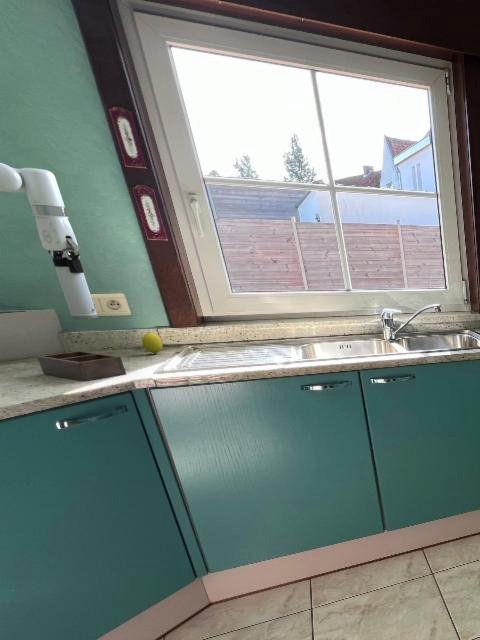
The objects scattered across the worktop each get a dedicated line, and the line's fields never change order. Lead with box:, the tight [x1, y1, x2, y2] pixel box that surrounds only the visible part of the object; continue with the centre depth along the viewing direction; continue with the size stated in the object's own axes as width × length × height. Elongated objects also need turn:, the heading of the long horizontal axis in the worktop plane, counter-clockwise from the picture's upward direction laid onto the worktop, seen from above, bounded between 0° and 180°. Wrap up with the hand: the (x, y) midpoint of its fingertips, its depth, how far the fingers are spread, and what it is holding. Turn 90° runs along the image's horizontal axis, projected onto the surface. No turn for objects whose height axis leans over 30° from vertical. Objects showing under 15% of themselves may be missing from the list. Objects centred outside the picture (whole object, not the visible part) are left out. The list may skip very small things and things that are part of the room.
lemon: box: [141, 332, 163, 355], centre depth 183 cm, size 6×6×8 cm
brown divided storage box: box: [36, 350, 127, 382], centre depth 153 cm, size 11×20×6 cm, turn 71°
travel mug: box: [52, 256, 99, 320], centre depth 164 cm, size 6×7×20 cm
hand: (70, 271), depth 163 cm, fingers closed on travel mug, 6 cm apart
